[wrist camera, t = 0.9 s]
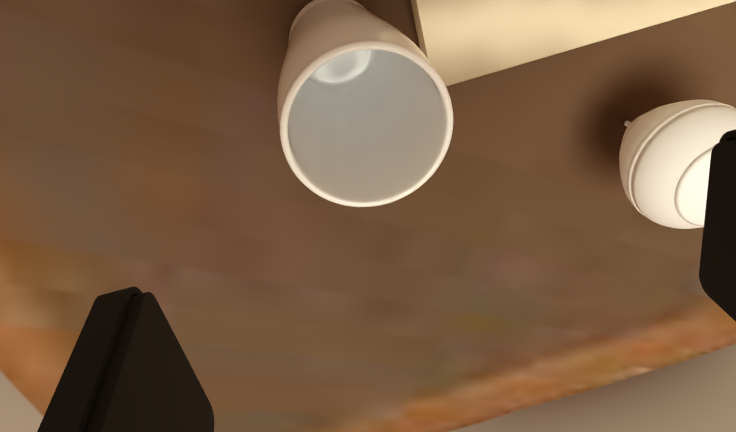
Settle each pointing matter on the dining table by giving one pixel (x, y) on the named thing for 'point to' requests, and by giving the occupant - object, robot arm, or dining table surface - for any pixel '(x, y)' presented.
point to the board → (528, 29)
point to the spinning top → (673, 159)
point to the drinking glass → (359, 106)
